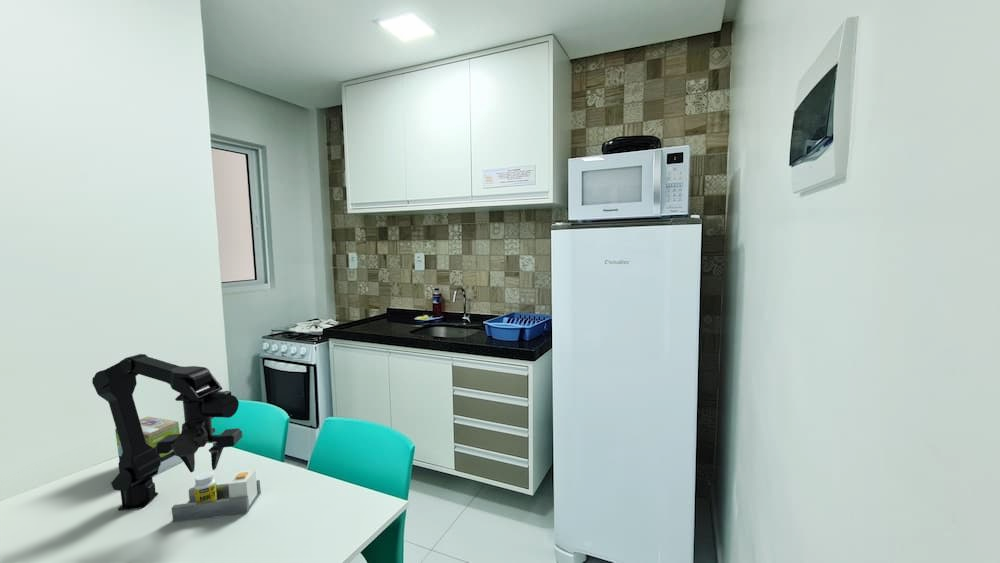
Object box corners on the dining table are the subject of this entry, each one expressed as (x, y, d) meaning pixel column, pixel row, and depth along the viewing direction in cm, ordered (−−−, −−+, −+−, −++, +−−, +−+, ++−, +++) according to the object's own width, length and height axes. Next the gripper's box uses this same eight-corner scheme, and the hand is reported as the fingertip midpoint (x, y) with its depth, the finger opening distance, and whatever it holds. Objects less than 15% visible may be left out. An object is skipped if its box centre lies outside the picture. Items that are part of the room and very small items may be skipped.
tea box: (118, 472, 133) (113, 428, 132) (152, 456, 143) (148, 415, 141) (151, 478, 129) (146, 433, 127) (184, 462, 138) (179, 419, 137)
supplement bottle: (199, 512, 110) (196, 483, 109) (193, 505, 113) (190, 477, 112) (220, 503, 113) (217, 474, 113) (213, 497, 116) (211, 469, 115)
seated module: (230, 508, 111) (227, 481, 110) (240, 494, 117) (238, 469, 116) (248, 505, 112) (246, 479, 111) (257, 492, 118) (255, 467, 117)
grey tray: (173, 522, 108) (171, 507, 107) (192, 501, 116) (191, 487, 116) (247, 512, 111) (246, 498, 110) (260, 492, 119) (259, 479, 119)
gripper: (137, 432, 101) (144, 492, 103) (220, 425, 104) (226, 483, 106) (166, 414, 112) (172, 468, 113) (240, 407, 115) (245, 460, 117)
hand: (203, 470), depth 112 cm, fingers open, 5 cm apart
